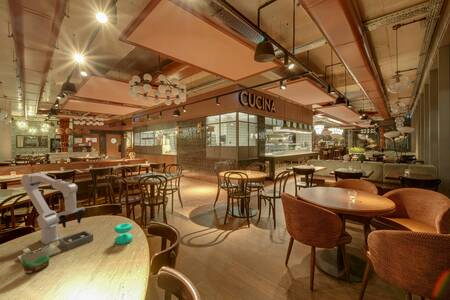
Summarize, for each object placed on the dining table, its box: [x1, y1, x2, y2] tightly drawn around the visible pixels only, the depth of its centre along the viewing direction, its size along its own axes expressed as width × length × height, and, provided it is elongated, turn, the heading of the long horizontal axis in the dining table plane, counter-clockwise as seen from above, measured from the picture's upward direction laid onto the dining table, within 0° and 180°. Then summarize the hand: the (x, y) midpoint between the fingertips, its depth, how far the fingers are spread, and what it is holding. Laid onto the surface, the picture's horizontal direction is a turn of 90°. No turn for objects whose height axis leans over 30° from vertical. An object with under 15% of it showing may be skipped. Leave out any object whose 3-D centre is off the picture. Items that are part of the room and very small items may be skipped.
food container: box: [21, 243, 52, 275], centre depth 101 cm, size 12×6×10 cm, turn 168°
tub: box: [58, 230, 94, 251], centre depth 127 cm, size 11×14×4 cm
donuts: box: [114, 222, 134, 245], centre depth 128 cm, size 10×10×10 cm
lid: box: [17, 244, 62, 264], centre depth 112 cm, size 12×15×6 cm
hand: (71, 224), depth 128 cm, fingers open, 7 cm apart
